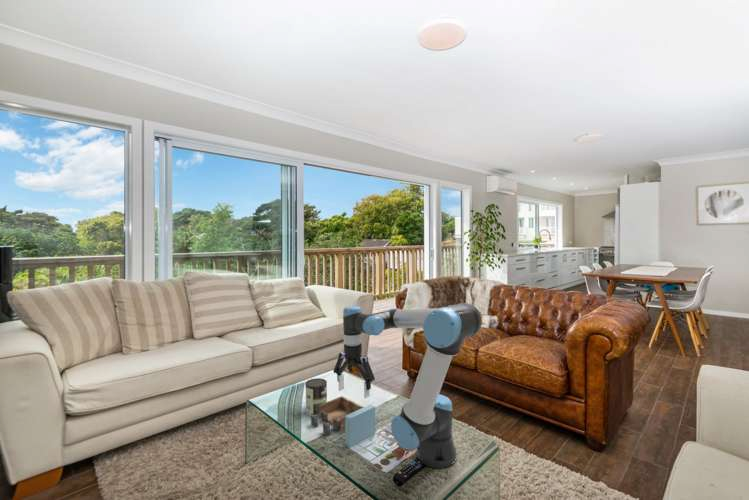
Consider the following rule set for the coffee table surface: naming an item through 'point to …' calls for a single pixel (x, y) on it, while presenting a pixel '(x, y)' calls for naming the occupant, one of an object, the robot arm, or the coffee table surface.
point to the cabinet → (334, 413)
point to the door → (359, 425)
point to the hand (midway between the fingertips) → (353, 393)
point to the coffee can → (315, 395)
